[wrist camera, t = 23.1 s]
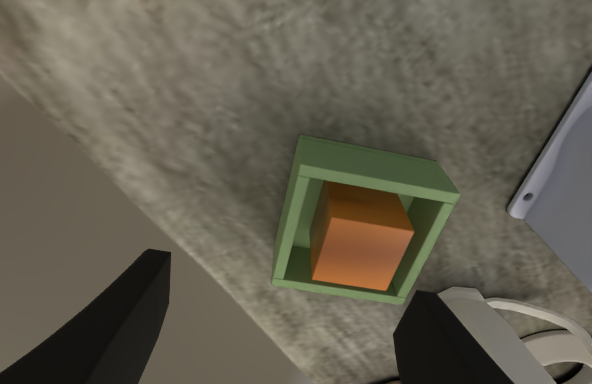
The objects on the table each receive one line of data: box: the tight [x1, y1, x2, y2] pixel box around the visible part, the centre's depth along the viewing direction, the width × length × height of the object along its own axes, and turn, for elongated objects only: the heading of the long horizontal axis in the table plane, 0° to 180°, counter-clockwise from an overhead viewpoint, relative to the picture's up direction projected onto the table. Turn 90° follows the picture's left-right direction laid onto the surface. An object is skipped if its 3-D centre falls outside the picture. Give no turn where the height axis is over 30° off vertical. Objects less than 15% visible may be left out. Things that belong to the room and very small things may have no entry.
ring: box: [521, 330, 592, 384], centre depth 29 cm, size 8×8×2 cm
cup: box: [437, 286, 592, 384], centre depth 22 cm, size 7×10×8 cm
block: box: [309, 180, 414, 291], centre depth 19 cm, size 4×4×4 cm
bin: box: [271, 134, 460, 305], centre depth 20 cm, size 8×8×4 cm
